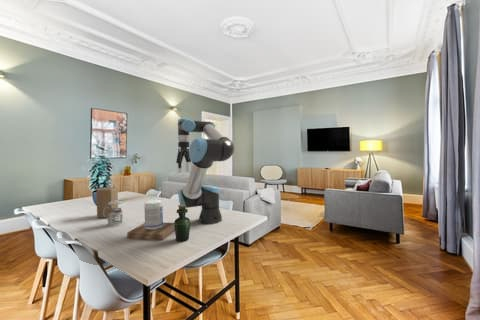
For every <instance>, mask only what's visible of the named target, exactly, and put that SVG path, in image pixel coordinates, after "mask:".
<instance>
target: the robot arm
mask: <svg viewBox="0 0 480 320" xmlns="http://www.w3.org/2000/svg"><path fill="white" fill-rule="evenodd" d="M190 133H203V134H204V135H205V136H206V137H207V138H204V137H203V138H195V139H194V140H192V142H191V143H190ZM177 135H178V136H177V140H178V142H177V143H178V144H177V145H178V146H177V147H178V152H177V154H176V164H177V172H178V173H177V174H183V159H185V172H189V176H188V179H187V182H186V184H185V185H183V188H181V189H178V202H179V205H182V204H184V205H186V207H185V209H188V208H196V207H201V210H200V213H199V216H198V221H199V223H200V224H201V223H202V224H208V225H211V224H217V223H220V222H221V221H223V218H222V217H223V216H222V213H221V210H220V188H219V187H218V186H215V185H208V184H203V183H204V179H205V178H206V174H207V173H208V172H207V171H208V169H210V168H211V167H212V166H213V164H214V162H224V161H227V160H229V159H230V158H231V157H232V156H233V155H234V152H235V144H234V142H233V141H232V140H231V139H230V138H229V137H228V136H224V135H223V134H222V133H221V132H220V131H219V130H218V129H217V128H216V124H215V123H214V122H213V121H206V120H205V121H202V120H201V121H199V120H193V119H188V118H179V119H178V120H177ZM190 163H192V164H191V166H190ZM190 167H191V169H190Z"/></svg>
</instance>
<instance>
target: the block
mask: <svg viewBox="0 0 480 320" xmlns="http://www.w3.org/2000/svg"><path fill="white" fill-rule="evenodd" d="M118 193H119V192H118V187H113V186H111V187H101V188H99V189H96V216H97V217H96V218H97V219H107V218H106V217H108V212H110V211H109V209H112V208H119V204H118V205H108V203H109V202H111V201H114V200H119V199H118V195H119V194H118ZM106 206H108V207H107V208H106V209H104V208H105V207H106ZM108 208H109V209H108ZM103 210H105V211H103ZM112 213H114V212H112ZM103 214H104V215H105V217H104V215H103ZM114 216H116V215H114ZM112 217H113V216H112Z"/></svg>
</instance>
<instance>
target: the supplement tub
mask: <svg viewBox="0 0 480 320" xmlns="http://www.w3.org/2000/svg"><path fill="white" fill-rule="evenodd" d="M163 208H164V205H163V201H162V200H159V199H154V200H153V199H151V200H147V201H145V202H144V223H145V228H146V229H148V230H155V229H159V228H161V227H162V226H163V223H164V221H163V220H164V214H163V213H164V212H163V210H164V209H163Z"/></svg>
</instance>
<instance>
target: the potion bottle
mask: <svg viewBox="0 0 480 320" xmlns="http://www.w3.org/2000/svg"><path fill="white" fill-rule="evenodd" d="M185 207H186V205H184V204H182V205H180V204H178V209H176V213H177V214H178V217H177V218H176V219H175V220H174V222H173V223H174V226H175V230H174V232H175V233H174V234H175V240H176V242H181V243H182V242H187V241H188V240H189V238H190V229H191V219H189V217H187V216H186V213H189V212H188V208H185Z"/></svg>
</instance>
